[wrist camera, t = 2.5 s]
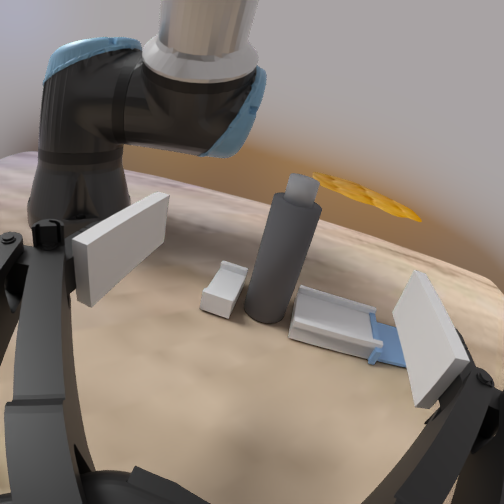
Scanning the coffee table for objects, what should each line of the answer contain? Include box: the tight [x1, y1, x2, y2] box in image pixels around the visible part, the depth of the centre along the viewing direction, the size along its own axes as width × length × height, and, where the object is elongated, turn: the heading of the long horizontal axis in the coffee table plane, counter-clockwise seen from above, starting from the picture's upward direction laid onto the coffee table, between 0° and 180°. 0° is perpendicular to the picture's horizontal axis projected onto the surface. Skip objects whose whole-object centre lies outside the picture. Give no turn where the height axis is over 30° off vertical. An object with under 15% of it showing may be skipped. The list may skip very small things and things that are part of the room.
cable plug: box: [244, 173, 322, 323], centre depth 26 cm, size 4×4×13 cm
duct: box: [200, 261, 407, 368], centre depth 28 cm, size 25×7×2 cm, turn 76°
